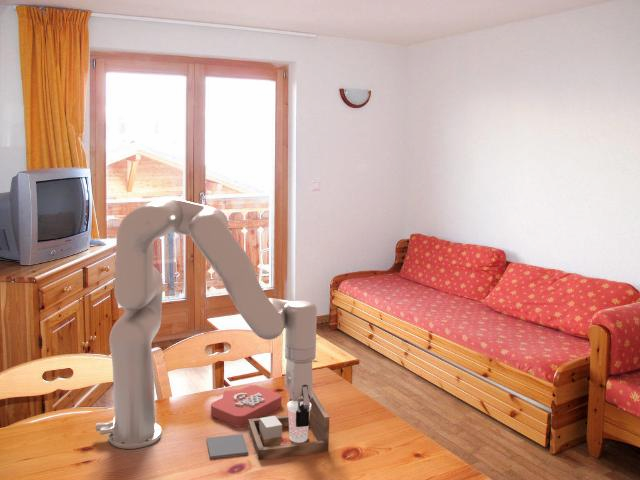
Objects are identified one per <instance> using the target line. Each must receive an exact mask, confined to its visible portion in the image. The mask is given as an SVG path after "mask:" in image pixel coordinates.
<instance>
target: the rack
mask: <svg viewBox="0 0 640 480" xmlns="http://www.w3.org/2000/svg"><path fill="white" fill-rule="evenodd" d="M309 402H310V403H311V410H310V416H309V428H310V430H311V431H312V433H313V435H314V437H315V438H316V440H315V441H308V442H306V441H304V442H300V443H297V442H295V443H288V444H280V445H279V446H270V447H263V445H262V442H261V439H260V434H259V431H258V430H259V422H260V418H261V417H260V418H256V419H248V424H247V429H248V432H249V434H250V437H251V441H252V444H253V447H254V450H255V452H256V455H257V458H258V460H259V461H261V460H269V459H276V458H277V459H278V458H279V459H280V458H285V457H293V456H302V455H311V454H319V453H320V454H321V453H327V452H329V445H330V443H329V439H330V415H329V414H328V412H327V410H326V409H325V407H324V406H323V404H322V403H321V401H320V399H319V398H318V396H317V395H316V393H315V392H314V390H312V398H311V400H309ZM275 416H276V418H277V419H278V420H279V421H280V423H281V424H282V428H283V427H289V417H288V415H286V414H285V415H279V416H278V415H275Z"/></svg>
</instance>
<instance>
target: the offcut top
mask: <svg viewBox="0 0 640 480" xmlns="http://www.w3.org/2000/svg"><path fill="white" fill-rule="evenodd" d="M276 416H277V415H270V416H265V417H260V426H259V429H260V431H261V432H262V434H263V435H264V437H265V438H266V439H270V438H275V437H282V436H283V427H282V424H281V423H280V421H279V420H278V419H277V418H276ZM259 429H258V430H259Z"/></svg>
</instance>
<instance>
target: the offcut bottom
mask: <svg viewBox="0 0 640 480" xmlns="http://www.w3.org/2000/svg"><path fill="white" fill-rule="evenodd" d="M259 437H260V440H261V443H262V446H263V447H270V446H279V445H282V444H281V441H282V440H281V437H282V436H281V437H275V438H270V439H266V438H265V437H264V435H263V434H262V432H261V431H260V432H259Z"/></svg>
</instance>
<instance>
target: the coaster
mask: <svg viewBox="0 0 640 480" xmlns="http://www.w3.org/2000/svg"><path fill="white" fill-rule="evenodd" d="M244 437H245V436H244V434H243V433H240V434H231V435H229V434H228V435H221V436H211V437H206V445H207V450H208V455H209V459H210V460H211V459H219V458H220V459H221V458H228V457H238V456H245V455H246V456H247V455H249V449H248V447H247V444H246V439H245V438H244Z"/></svg>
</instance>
